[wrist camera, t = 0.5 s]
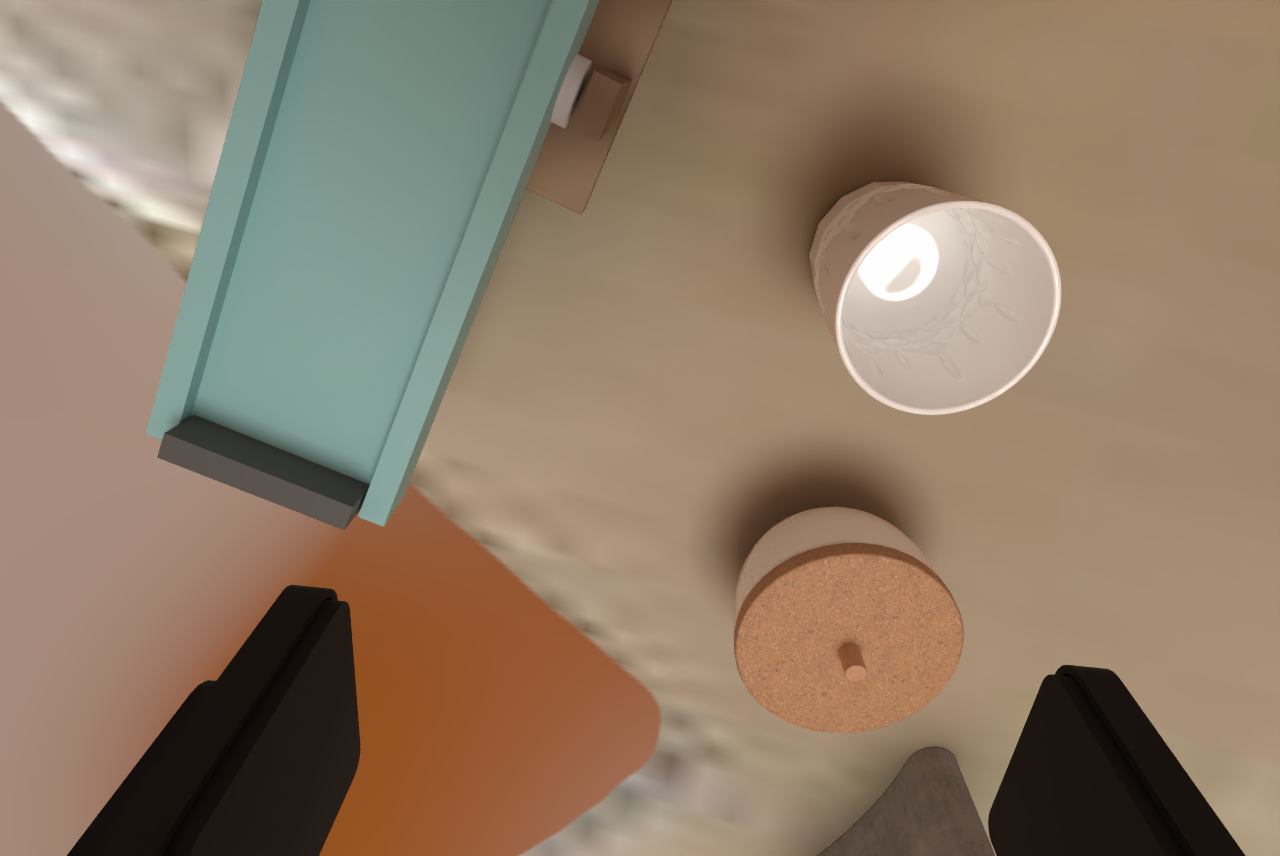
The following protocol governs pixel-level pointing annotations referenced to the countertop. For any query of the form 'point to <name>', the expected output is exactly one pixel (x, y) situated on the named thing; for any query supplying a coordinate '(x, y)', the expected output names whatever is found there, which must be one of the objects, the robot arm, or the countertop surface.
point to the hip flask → (919, 815)
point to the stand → (598, 100)
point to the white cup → (933, 295)
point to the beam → (357, 238)
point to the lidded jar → (843, 622)
